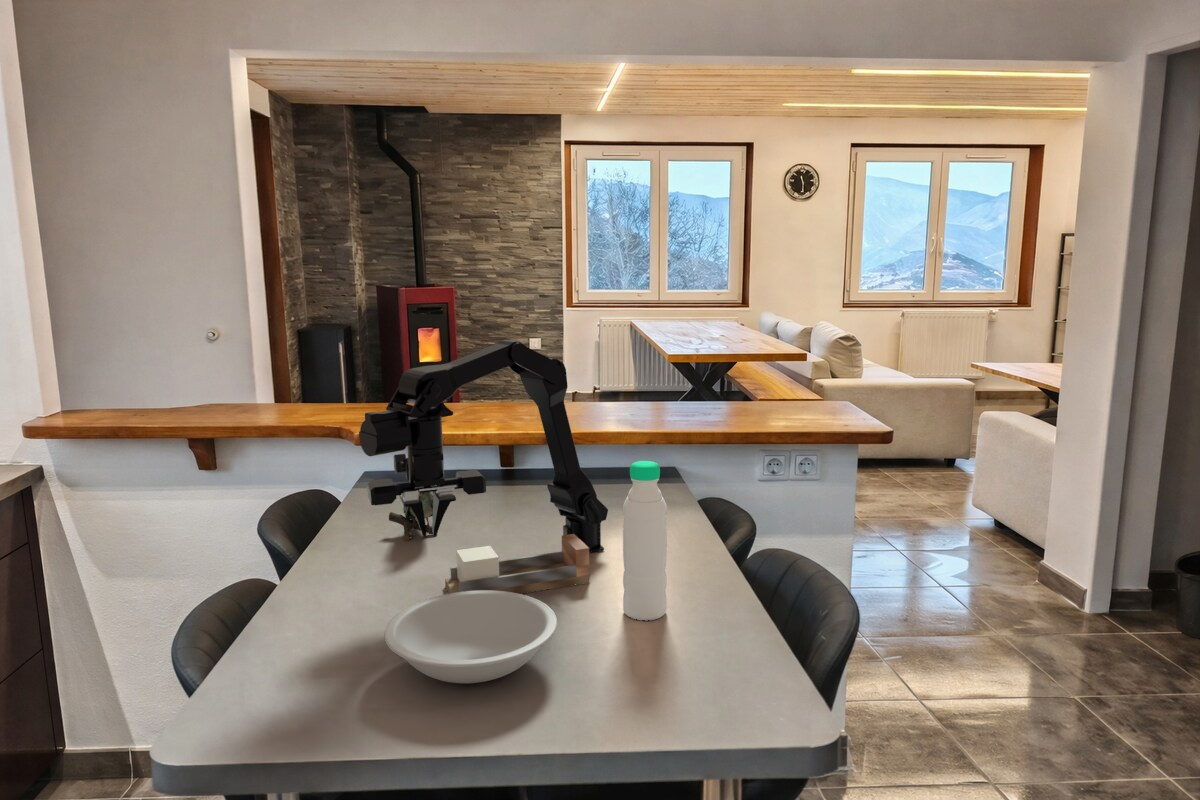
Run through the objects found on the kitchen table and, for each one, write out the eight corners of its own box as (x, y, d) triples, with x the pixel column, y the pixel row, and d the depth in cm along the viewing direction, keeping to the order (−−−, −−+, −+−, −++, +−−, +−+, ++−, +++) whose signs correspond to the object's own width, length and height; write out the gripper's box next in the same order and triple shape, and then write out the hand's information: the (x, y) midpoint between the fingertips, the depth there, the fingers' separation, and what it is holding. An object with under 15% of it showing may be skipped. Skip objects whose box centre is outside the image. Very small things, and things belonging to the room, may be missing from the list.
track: (574, 567, 158) (574, 533, 157) (589, 583, 151) (589, 548, 150) (445, 586, 150) (443, 551, 149) (454, 604, 143) (453, 567, 141)
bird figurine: (388, 517, 186) (386, 452, 173) (434, 514, 188) (436, 449, 175) (390, 566, 176) (388, 501, 163) (439, 562, 179) (440, 498, 166)
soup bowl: (576, 637, 130) (576, 596, 129) (528, 722, 107) (527, 673, 106) (430, 623, 136) (428, 584, 134) (354, 701, 113) (351, 654, 112)
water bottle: (671, 607, 141) (672, 459, 136) (660, 624, 134) (660, 470, 130) (630, 601, 143) (630, 456, 138) (617, 618, 136) (616, 467, 132)
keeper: (491, 572, 151) (490, 545, 151) (499, 584, 146) (498, 557, 145) (457, 577, 149) (456, 550, 148) (464, 590, 144) (463, 562, 143)
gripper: (470, 430, 151) (473, 515, 154) (361, 440, 144) (366, 528, 147) (485, 444, 141) (488, 534, 144) (368, 455, 134) (374, 549, 137)
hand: (429, 536), depth 143 cm, fingers closed
